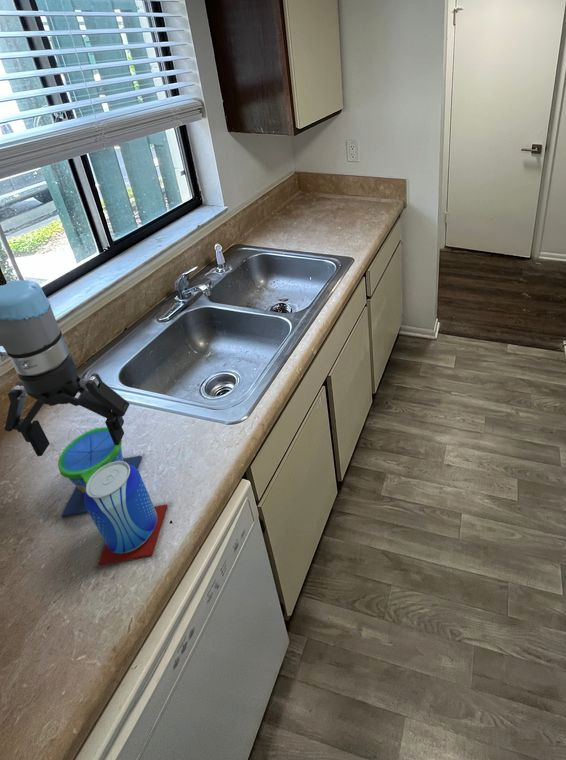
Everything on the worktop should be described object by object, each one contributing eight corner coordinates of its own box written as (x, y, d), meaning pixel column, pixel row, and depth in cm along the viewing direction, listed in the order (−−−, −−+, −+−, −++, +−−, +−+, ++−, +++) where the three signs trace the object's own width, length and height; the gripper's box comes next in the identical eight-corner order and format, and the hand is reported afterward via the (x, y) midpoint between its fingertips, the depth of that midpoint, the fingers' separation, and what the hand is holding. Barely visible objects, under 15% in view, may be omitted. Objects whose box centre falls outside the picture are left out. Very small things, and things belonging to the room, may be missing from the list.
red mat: (98, 565, 78) (97, 564, 78) (119, 514, 86) (118, 512, 86) (152, 555, 80) (151, 553, 79) (167, 506, 88) (166, 504, 87)
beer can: (162, 538, 82) (138, 484, 75) (109, 567, 77) (79, 513, 70) (156, 501, 88) (133, 447, 81) (107, 526, 84) (79, 472, 77)
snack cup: (132, 503, 88) (116, 470, 83) (69, 529, 83) (49, 495, 79) (135, 441, 100) (122, 410, 96) (80, 461, 96) (64, 429, 92)
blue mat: (62, 517, 86) (61, 515, 86) (88, 465, 96) (87, 463, 95) (122, 506, 88) (121, 505, 87) (142, 457, 97) (141, 455, 97)
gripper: (-54, 388, 72) (-2, 472, 81) (112, 368, 75) (143, 451, 85) (-22, 356, 78) (22, 437, 87) (129, 340, 82) (156, 419, 91)
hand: (82, 444), depth 86 cm, fingers open, 13 cm apart
